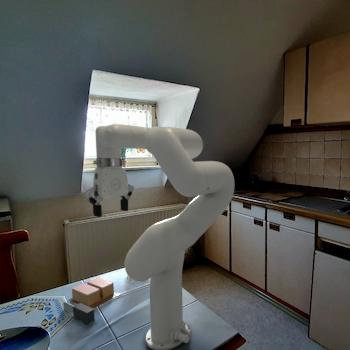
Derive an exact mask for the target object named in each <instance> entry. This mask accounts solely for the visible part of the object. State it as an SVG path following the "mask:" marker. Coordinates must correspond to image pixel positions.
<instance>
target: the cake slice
mask: <svg viewBox="0 0 350 350" xmlns="http://www.w3.org/2000/svg"><path fill="white" fill-rule="evenodd" d="M71 294H72V297H71V299H72V298H73V300H75V301H77V302H79V303H82V304H84V305H86V306H90V305H92V304H94V303H96V302H98V301H100V289H98V288H95V287H93V286H90V285H88V284H87V283H85V282H83V283H81V284H79V285H76V286H74V287H72V288H71Z"/></svg>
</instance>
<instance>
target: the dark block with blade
mask: <svg viewBox="0 0 350 350" xmlns="http://www.w3.org/2000/svg"><path fill="white" fill-rule="evenodd" d="M62 303H63V304H62V305H63V311H66V312H67V313H70V314H72V315H73V319H75V320H77V321H79V322H80V323H83V324H85V325H87V326H88V325H90V324H92V323H94V322H95V308H94V309H92V308H90V307H88V306H86V305H83V304H81V303H79V304H75V305H73V304H72V303H69V302H67V301H65V300H64V301H63V302H62Z"/></svg>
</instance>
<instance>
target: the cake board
mask: <svg viewBox="0 0 350 350" xmlns="http://www.w3.org/2000/svg"><path fill="white" fill-rule="evenodd" d="M120 295H121V293H120V292H117V291H114V293H113V294H111V295H110V296H108V297H106V298H104V299H103V298H100V301H98V302H96V303H94V304H92V305H90V306H88V307H90V308H92V309H94V310H95V309H96V308H98V307H100V306H102V305H103V304H105V303H107V302H109V301H111V300H113V299H115V298H117V297H119V296H120ZM68 301H69V302H72V303H73V304H75V305H77V304H79V302H77V301H75V300H73V298H72V297H71V298H69V299H68ZM81 304H82V303H81ZM83 305H84V304H83Z"/></svg>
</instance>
